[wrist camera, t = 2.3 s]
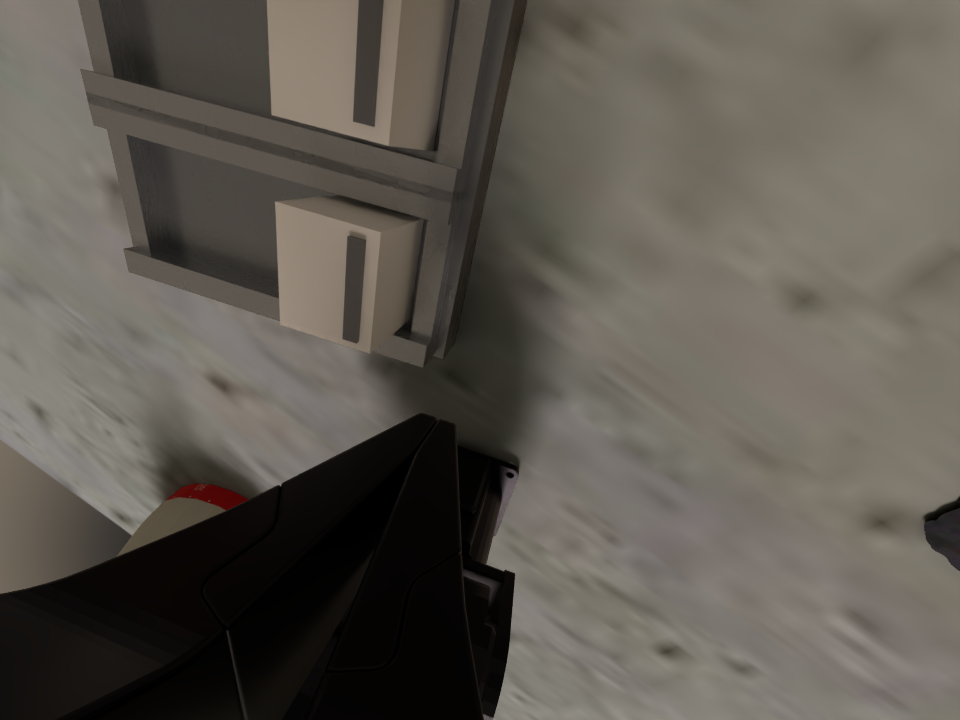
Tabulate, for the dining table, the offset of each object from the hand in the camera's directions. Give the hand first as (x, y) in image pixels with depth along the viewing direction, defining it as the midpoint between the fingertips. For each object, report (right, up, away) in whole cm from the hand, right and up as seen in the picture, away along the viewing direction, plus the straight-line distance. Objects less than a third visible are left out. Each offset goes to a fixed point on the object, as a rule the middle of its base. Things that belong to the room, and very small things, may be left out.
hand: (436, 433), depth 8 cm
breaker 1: (-2, +13, +6) cm, 14 cm away
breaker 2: (-4, +6, +9) cm, 12 cm away
